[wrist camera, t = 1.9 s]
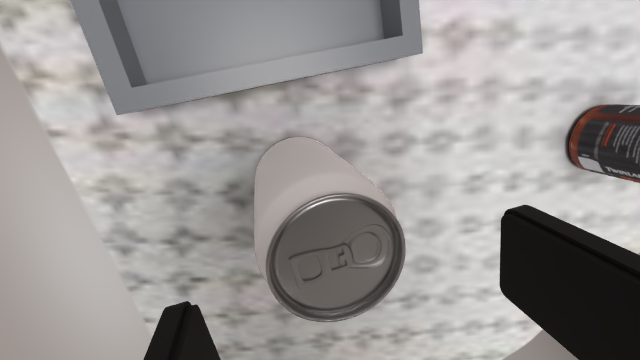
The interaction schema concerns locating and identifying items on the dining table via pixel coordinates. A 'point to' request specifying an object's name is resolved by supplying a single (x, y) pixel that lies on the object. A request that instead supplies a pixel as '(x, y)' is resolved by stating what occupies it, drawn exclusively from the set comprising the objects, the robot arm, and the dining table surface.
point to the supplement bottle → (608, 141)
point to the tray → (236, 43)
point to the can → (323, 232)
